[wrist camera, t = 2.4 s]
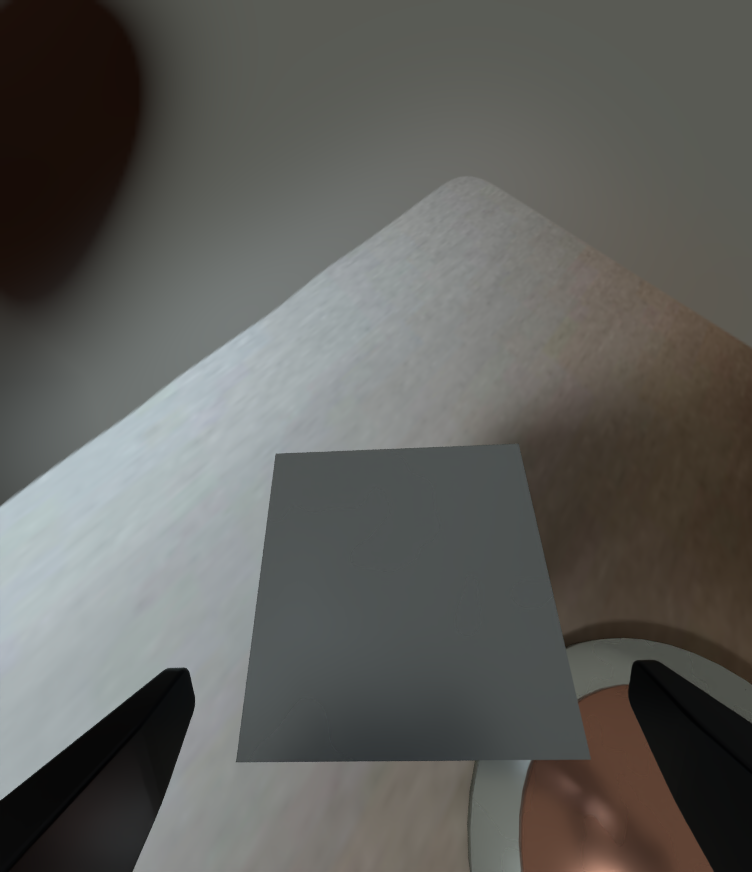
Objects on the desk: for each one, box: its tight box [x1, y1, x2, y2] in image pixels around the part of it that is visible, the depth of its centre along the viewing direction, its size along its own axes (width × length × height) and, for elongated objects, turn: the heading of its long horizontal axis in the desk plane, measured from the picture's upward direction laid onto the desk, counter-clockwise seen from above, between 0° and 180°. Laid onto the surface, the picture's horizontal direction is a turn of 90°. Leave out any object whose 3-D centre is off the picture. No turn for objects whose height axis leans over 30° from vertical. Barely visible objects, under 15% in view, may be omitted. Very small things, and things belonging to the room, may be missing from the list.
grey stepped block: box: [236, 444, 591, 762], centre depth 11 cm, size 6×6×12 cm
